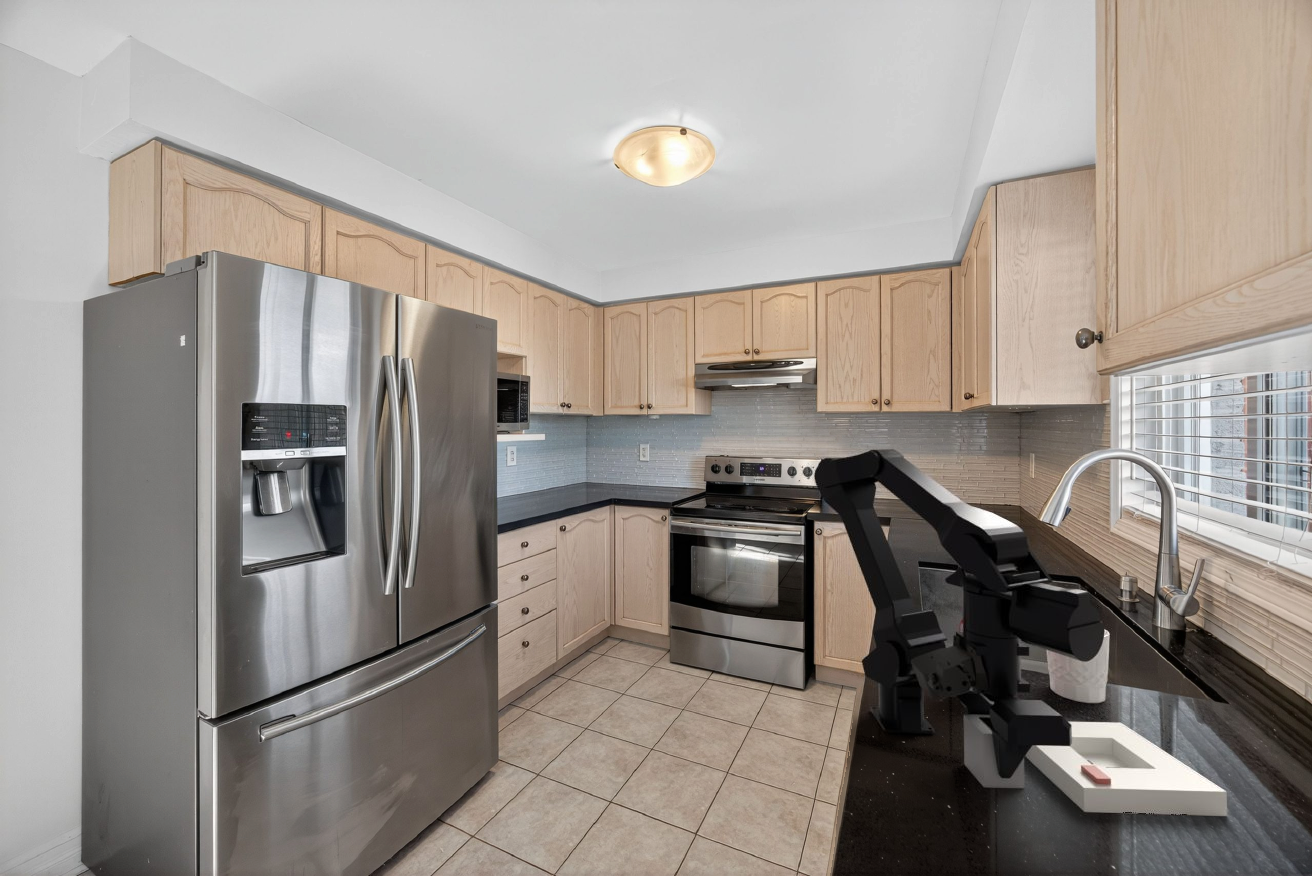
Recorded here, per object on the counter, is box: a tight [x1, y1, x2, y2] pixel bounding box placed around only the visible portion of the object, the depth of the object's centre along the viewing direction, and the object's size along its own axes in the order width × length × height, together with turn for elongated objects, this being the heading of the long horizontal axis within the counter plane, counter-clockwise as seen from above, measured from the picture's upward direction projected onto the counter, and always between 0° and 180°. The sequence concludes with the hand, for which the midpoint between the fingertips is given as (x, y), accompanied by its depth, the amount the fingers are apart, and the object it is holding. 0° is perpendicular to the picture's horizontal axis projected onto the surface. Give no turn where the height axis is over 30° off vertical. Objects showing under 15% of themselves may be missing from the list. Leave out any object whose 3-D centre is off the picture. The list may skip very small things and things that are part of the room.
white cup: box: [1046, 628, 1110, 704], centre depth 84 cm, size 8×8×10 cm
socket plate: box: [1024, 721, 1228, 817], centre depth 64 cm, size 14×14×3 cm
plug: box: [963, 713, 1026, 789], centre depth 64 cm, size 4×7×6 cm, turn 86°
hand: (993, 765), depth 64 cm, fingers closed on plug, 4 cm apart
